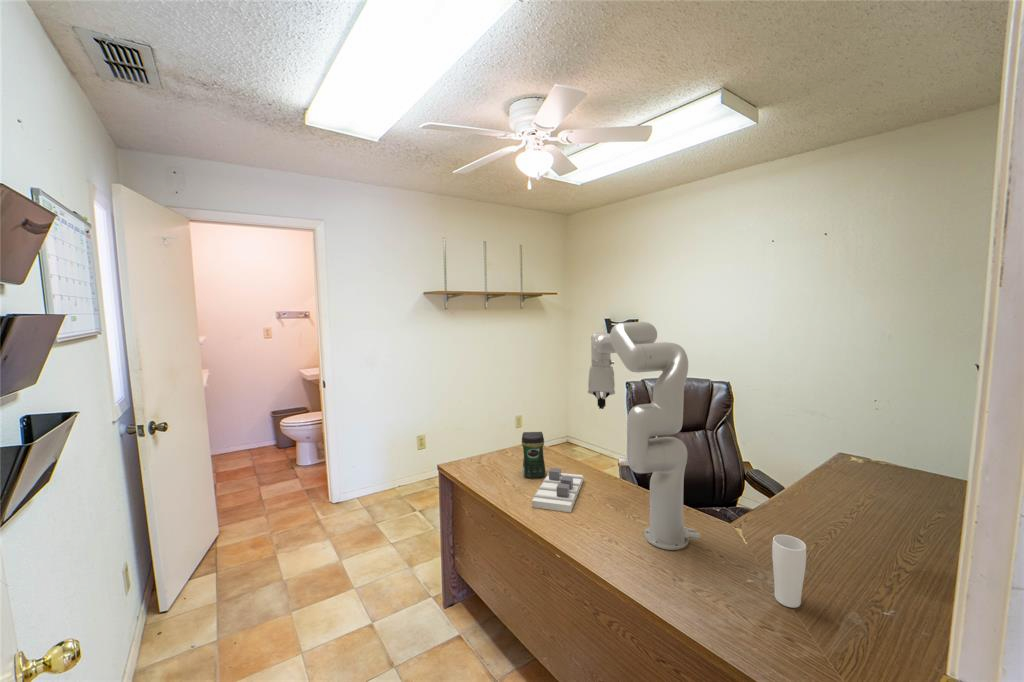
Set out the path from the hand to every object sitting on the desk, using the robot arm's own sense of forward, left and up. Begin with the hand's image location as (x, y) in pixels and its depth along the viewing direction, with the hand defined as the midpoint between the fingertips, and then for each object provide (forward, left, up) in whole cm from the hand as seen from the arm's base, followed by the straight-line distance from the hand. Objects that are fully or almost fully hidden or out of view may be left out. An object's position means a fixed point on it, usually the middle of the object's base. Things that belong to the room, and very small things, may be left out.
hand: (601, 408), depth 172 cm
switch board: (+14, +19, -29) cm, 37 cm away
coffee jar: (+28, +5, -29) cm, 41 cm away
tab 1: (+17, +12, -26) cm, 34 cm away
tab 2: (+11, +19, -26) cm, 34 cm away
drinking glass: (-51, +60, -29) cm, 84 cm away
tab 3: (+11, +25, -26) cm, 38 cm away
